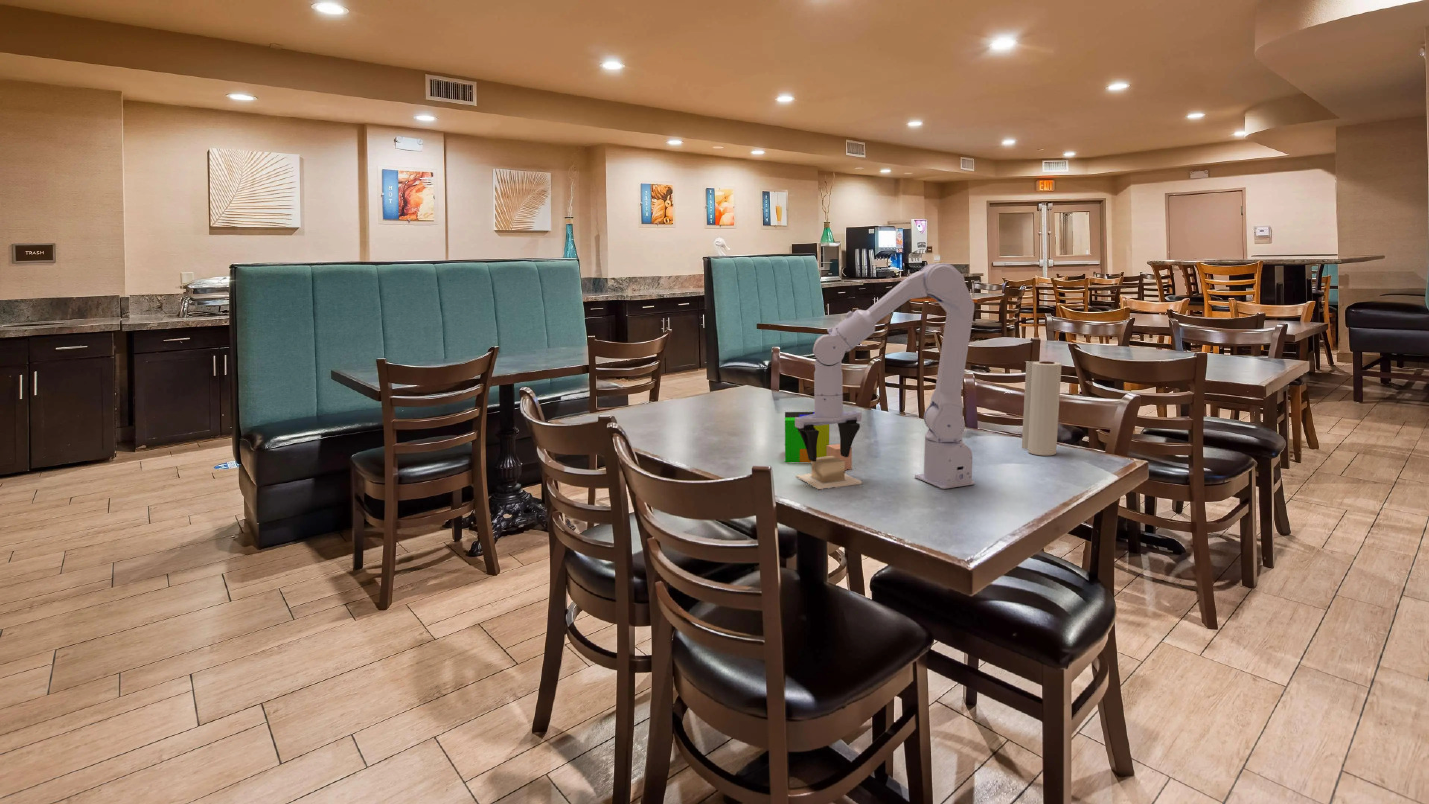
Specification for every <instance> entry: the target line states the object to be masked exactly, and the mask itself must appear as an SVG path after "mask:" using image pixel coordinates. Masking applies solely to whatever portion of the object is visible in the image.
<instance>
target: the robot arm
mask: <svg viewBox="0 0 1429 804" xmlns="http://www.w3.org/2000/svg"><path fill="white" fill-rule="evenodd" d="M965 281H966V280H965V277H964V275H963V274H962V273H961V272H960V271H959V270H958V269H957V268H956V267H954V266H953V265H951V264H950V263H947V262H946V263H945V262H942V263H929V264H927V265H924V266H923V267H922V268H921V269H920V270H919V271H915V272H914V273H912V274H910V275H909V276H907V277H905V278H904V279H902V280H901V281H900V282H899V283H898V284H897V285H895V286H894V287H893V288H892V289H890V290H889V291H888V292H887V293H886V294H884V295H883V296H882V297H881V298H879V299H878V300H877V301H876V302H875V303H874V304H873V305H871V306H870V307H869V308H867V309H866V310H863V309H856V310H855V311H851V310H849V311H848V312H847V313H846V314H845V316H846V317H845V318H844V319H843V320H842V321H839V322H838V324H836V325H835V326H834V327H829V328H827V329H826V331H827V333H828V334H823V335H821V336H818V337H817V338H816V340H815V341H814V344H813V348H812V353H813V355H814V357H815V358H816V359H814V360H815V362H814V369H815V370H814V372H813V377H814V378H813V380H814V384H813V388H814V389H813V391H814V393H813V395H814V397H813V398H814V412H815V414H811V415H807V416H802V417H796V418H795V427H797V429H798V431H799V433H800V435H801V437H802V439H803V441H804V444H805V447H806V450H807V454H808V459H809V460H810V461H813V462H815V461H816V458H817V439H818V434H819V431H818V430H815V428H814V426H818V425H826V424H829V425H833V424H837V427H838V432H839V440H840V441H839V444H840V453H841V455H842V456H844V457H849V453H850V449H851V447H852V445H853V442H854V439H855V437H856V436H857V433H858V432H859V430H860V428H861V424H860V423H859V422H862V412H861V411H858V410H851V411H843V407H844V406H843V403H844V402H843V400H844V399H843V397H844V396H843V385H844V384H843V383H844V382H843V378H844V377H843V371H842V360H843V359H844V357H845V354H846V352H851V350H853V349H854V348H856V347H857V346H858V345H860V344H862V342H863V341H865V340H866V339H868V338H869V337H870V336H871V335H873V334H874V333H875V331H876V325H877V323H878V322H879V321H881V320H882V319H884V318H885V317H887V316H888V315H889V314H891V313H893V312H894V311H895V310H896V309H898V308H899V307H900V306H902V305H903V304H906V302H907V301H910V300H911V299H918V298H919V299H920V298H926V297H930V298H933V300H935V301H936V302H937V303H938V304H939V305H940V307H941V308H942V309H943V310H944V311H945V313H946V315H945V316H946V317H945V323H944V330H943V336H942V342H941V349H940V357H939V363H938V370H937V375H936V383H935V389H934V391H933V392H932V395H931V397H930V403H929V405H928V406H927V408H925V411H924V413H923V422H924V424H925V426H926V427H927V428H928V429H927V432H926V433H925V435H924V455H923V456H924V459H923V460H924V461H923V462H924V463H923V464H924V465H923V473H921V474H920V473H919V474H915V475H914V478H915V479H918V480H920V481H923V482H925V483H928V484H930V485H932V486H934V487H938V488H939V489H942V490H944V489H951V488H957V487H958V488H960V487H964V486H971V485H976V483H975V482H976V481H974V480H972V478H973V477H972V476H973V453H972V449H971V448H970V447H969V446H968V445H966V444H965V443H964V441H963V434H964V431H965V427H966V423H965V418H964V416H963V409H964V405H963V399H962V390H963V383H964V376H965V370H966V365H967V357H968V351H969V344H970V339H971V332H972V327H973V326H972V325H973V319H974V313H975V302H974V300H973V298H972V295H971V294H970V291H969V288H968V287H967V284H966V282H965Z"/></svg>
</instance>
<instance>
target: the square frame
mask: <svg viewBox="0 0 1429 804" xmlns="http://www.w3.org/2000/svg"><path fill="white" fill-rule="evenodd" d="M796 477H797V478H796ZM795 478H796V479H798V478H800V479H801V480H800V479H799V480H800V481H802V480H803V481H805V482H807V483H808V484H807V483H806V484H807V485H809V484H811V485H812V486H813V488H814V487H816V488H817V489H816V488H815V489H816V490H818V489H821V490H824V489H823V488H828V489H830V488H829V487H835V488H841V487H847V486H855V485H861V484H863V482H862V481H861V480H858V479H857V478H855V477H852V476H850V475H849V474H846V473H845V480H840V481H833V482H826V483H822V482H821V481H819V480H817V479H815V478H813V477H812V472H811V473H805V474H804V473H803V474H797V475H795ZM803 481H802V482H803ZM805 482H804V483H805ZM811 485H810V486H811ZM812 486H811V487H812Z"/></svg>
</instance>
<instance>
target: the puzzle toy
mask: <svg viewBox="0 0 1429 804" xmlns="http://www.w3.org/2000/svg"><path fill="white" fill-rule="evenodd" d="M811 414H815V411H785V412H784V452H785V453H784V463H785V462H812V461H810V460H809V459H808V454H807V450H806V447H805V444H804V441H803V439H802V437H801V435H800V433H799V431H798V429H797V427H795V418H796V417H802V416H807V415H811ZM814 428H815V430H818V431H819V434H818V439H817V458H818V457H826V456H827V445H830V424H826V425H818V426H814Z"/></svg>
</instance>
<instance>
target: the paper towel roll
mask: <svg viewBox="0 0 1429 804" xmlns="http://www.w3.org/2000/svg"><path fill="white" fill-rule="evenodd" d="M1025 363H1026V364H1025V378H1024V379H1025V381H1024V382H1025V383H1024V398H1023V399H1024V400H1023V416H1022V436H1021V437H1022V438H1021V449H1024V450H1027V452H1028V453H1029V454H1031V455H1035V456H1054V455H1056V454H1057V446H1058V444H1057V443H1058V428H1059V411H1060V396H1061V394H1060V392H1061V380H1062V377H1061V376H1062V366H1063V365H1062V364H1063V363H1061V362H1058V361H1057V362H1055V361H1046V360H1045V361H1044V360H1042V361H1037V360H1036V361H1035V360H1034V361H1032V360H1031V361H1029V360H1028V361H1025Z"/></svg>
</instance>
